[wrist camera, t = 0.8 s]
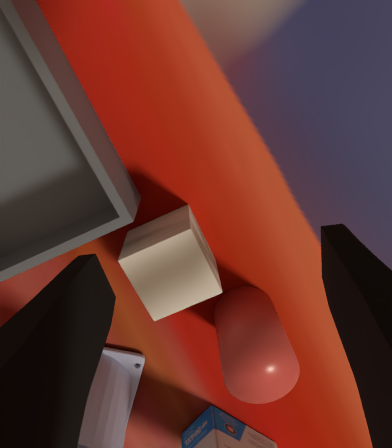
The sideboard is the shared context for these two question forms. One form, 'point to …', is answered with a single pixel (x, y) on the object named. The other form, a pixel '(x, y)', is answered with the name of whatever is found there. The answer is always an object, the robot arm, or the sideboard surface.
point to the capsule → (254, 347)
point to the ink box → (222, 433)
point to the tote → (51, 150)
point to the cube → (170, 263)
